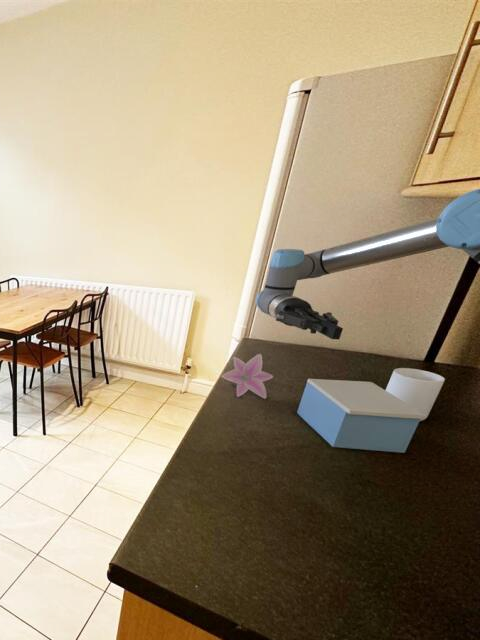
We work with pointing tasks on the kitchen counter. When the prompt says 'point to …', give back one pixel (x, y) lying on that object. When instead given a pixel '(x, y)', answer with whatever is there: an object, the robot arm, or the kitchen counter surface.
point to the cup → (415, 388)
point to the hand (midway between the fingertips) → (337, 333)
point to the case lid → (365, 399)
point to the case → (354, 425)
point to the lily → (248, 376)
